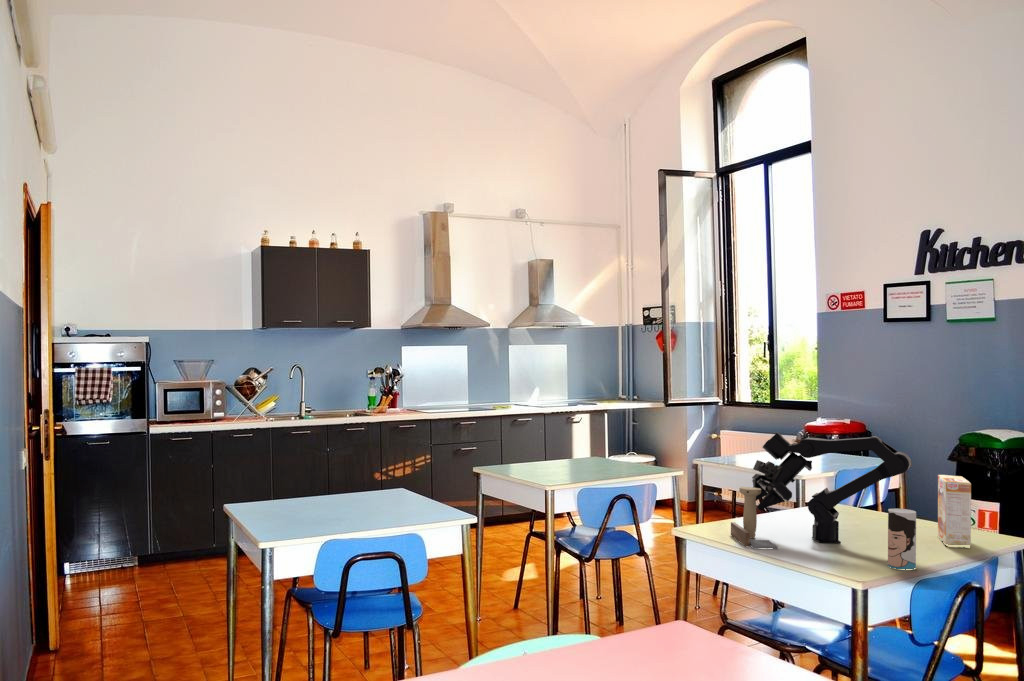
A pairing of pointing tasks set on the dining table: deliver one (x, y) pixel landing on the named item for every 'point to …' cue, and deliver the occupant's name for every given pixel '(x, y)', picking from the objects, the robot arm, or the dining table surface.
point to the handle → (750, 509)
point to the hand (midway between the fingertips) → (752, 506)
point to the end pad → (762, 544)
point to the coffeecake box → (954, 510)
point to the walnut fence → (740, 534)
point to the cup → (901, 538)
